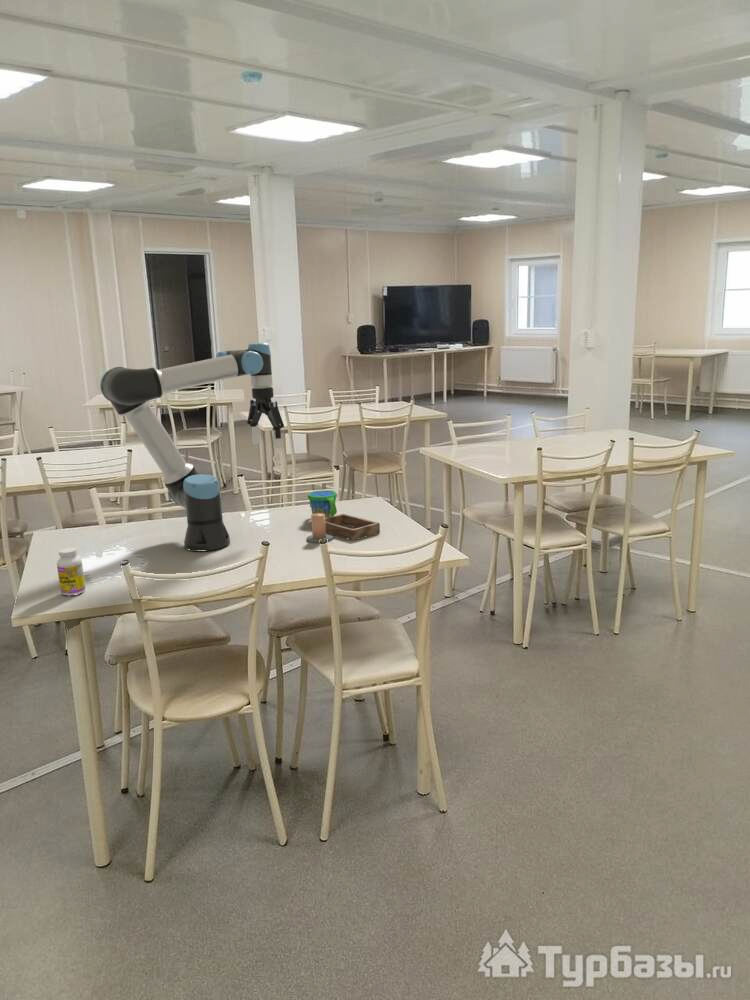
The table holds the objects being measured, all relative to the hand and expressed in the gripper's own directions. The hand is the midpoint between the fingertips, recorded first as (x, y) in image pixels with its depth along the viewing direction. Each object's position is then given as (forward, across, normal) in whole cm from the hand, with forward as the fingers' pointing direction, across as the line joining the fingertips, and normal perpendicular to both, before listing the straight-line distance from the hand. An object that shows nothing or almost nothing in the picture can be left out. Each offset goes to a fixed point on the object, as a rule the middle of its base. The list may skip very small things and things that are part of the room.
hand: (266, 445), depth 279 cm
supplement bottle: (+29, -20, +82) cm, 89 cm away
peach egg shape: (+28, -32, +3) cm, 43 cm away
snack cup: (+29, -13, -14) cm, 35 cm away
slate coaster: (+29, -32, +2) cm, 43 cm away
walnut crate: (+29, -32, -10) cm, 44 cm away
